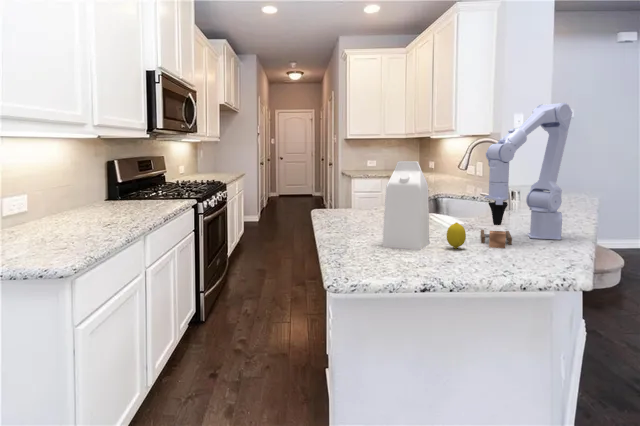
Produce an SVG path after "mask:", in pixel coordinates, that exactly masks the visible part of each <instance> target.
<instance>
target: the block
mask: <svg viewBox="0 0 640 426" xmlns="http://www.w3.org/2000/svg"><path fill="white" fill-rule="evenodd" d="M489 234H490V235H489V239H488V246H489V248H492V249H493V248H494V249H497V248H498V249H506V242H507V240H506V230H505V231H504V230H502V231H501V230H489Z"/></svg>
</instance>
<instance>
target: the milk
mask: <svg viewBox="0 0 640 426" xmlns="http://www.w3.org/2000/svg"><path fill="white" fill-rule="evenodd" d="M429 202H430V201H429V184H428V182H427V179H426V177H425V174H424V172H423V171H422V168H421V166H420V162H419V161H413V160H412V161H411V160H410V161H409V160H408V161H407V160H406V161H404V160H403V161H397V163H396V165H395V168H394V170H393V172H392V174H391V175H390V177H389V179H388V182H387V185H386V188H385V199H384V212H383V214H384V216H383V228H382V246H381V247H382V248H390V249H391V248H392V249H393V248H394V249H402V250H403V249H406V250H415V251H421V249H422V250H423V249H424V248H425V247H426V246H428V245H429V244H430V213H429V212H430V208H429V206H430V205H429ZM427 244H428V245H427Z"/></svg>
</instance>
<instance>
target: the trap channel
mask: <svg viewBox="0 0 640 426" xmlns="http://www.w3.org/2000/svg"><path fill="white" fill-rule="evenodd" d="M505 233H506V242H507V244H508V245H509V246H510V245H511V246H512V245H513V238H512V237H513V236H512V235H511V233H510V231H509V230H505ZM489 235H490V233H489V234H488V233H485V229H480V241H481V242H480V243H481V244H485V242H486V239H487V238H489Z"/></svg>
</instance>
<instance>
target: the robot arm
mask: <svg viewBox="0 0 640 426" xmlns="http://www.w3.org/2000/svg"><path fill="white" fill-rule="evenodd" d="M572 115H573V111H572V109H571V107H570V105H569V104H568V103H567V102H565V101H564V102H559V103H558V102H557V103H547V104H546V103H545V104H543V103H542V104H538V105H537V106H536V107H535V108H534V109H532V114H530V116H528V118H527V119H526V120H525V121H524V122H523V123H522V124H521V125H520V126H519V128H517V127H515V128H510V129H508V130H507V131H508V132H507V133H506V134H505V135H504V136H503V137H501V138H500V139H499V140H498V142H497V143H493V144H491V145H489V147H488V148H487V149H486V152H485V157H486V160H487V161H488V163H487V165H488V167H489V175H488V176H489V177H488V179H489V180H488V195H484V199H489V200H493V201H492V202H491V201H490V202H488V206H489V208H490V210H491V217H492V224H493V225H494V226H501V225H502V222H503V218H504V213H505V211H506V209H507V207H508V206H509V204H508V202H507V200H509V199H510V198H509V197H510V196H509V184H510V183H509V180H510V179H509V177H510V162H511V161H512V160H513V159H514V157H515V153H516V152H517V151H518V149H520V148H521V147H522V146H523V145H524V144H525V143H526V142H527V140H528V135H530V134H531V133H533V131H535V130H536V129H537V128H539V127H541V128H542V129H543V131H545V132H547V134H548V138H547V142H546V146H545V152H544V155H543V160H542V163H541V169H540V173H539V177H538V180H537V181H536V182H534V183H533V184H532V185H530V190H529V192H528V193H527V195H526V199H525V201H526V205H527V206H528V208H529V211H531V212H530V225H529V226H530V227H529V228H530V229H529V232H527V235H528V237H529V239H538V240H539V239H540V240H541V239H543V240H559V241H560V240H562V229H563V228H562V227H563V214H562V213H563V212H562V211H559V209H560V207H561V206H562V201H563V200H562V193H563V190H562V188H561V186H559V185H558V184H557V182H558V177H559V173H560V172H559V171H560V169H561V163H562V160H563V155H564V152H565V146H566V143H567V138H568V133H569V128H570V124H571V120H572V117H573V116H572Z"/></svg>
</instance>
